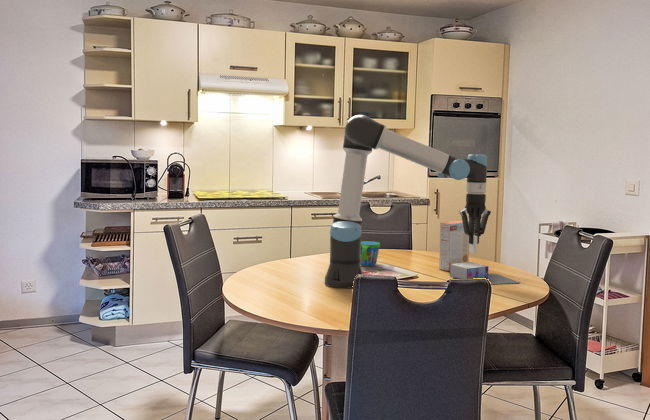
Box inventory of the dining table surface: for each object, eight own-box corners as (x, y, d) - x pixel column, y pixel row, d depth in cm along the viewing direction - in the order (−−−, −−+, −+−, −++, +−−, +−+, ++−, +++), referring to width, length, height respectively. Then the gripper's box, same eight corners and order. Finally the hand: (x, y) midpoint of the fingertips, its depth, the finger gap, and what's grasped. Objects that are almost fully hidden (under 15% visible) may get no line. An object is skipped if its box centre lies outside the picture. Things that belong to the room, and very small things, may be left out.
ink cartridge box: (467, 282, 234) (492, 278, 242) (467, 268, 233) (493, 264, 241) (449, 277, 242) (474, 273, 250) (449, 263, 241) (474, 260, 249)
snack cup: (362, 261, 274) (363, 239, 273) (384, 263, 270) (385, 241, 269) (350, 267, 260) (351, 244, 259) (373, 269, 256) (373, 246, 255)
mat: (474, 285, 229) (474, 284, 229) (452, 275, 246) (452, 274, 246) (519, 283, 234) (520, 282, 234) (495, 273, 251) (495, 273, 251)
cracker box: (457, 266, 267) (459, 219, 265) (468, 268, 263) (471, 221, 261) (437, 269, 258) (439, 222, 256) (449, 271, 254) (451, 223, 252)
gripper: (465, 193, 230) (463, 254, 232) (495, 193, 233) (492, 253, 236) (456, 192, 237) (454, 250, 239) (485, 192, 240) (483, 250, 243)
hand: (473, 251), depth 238 cm, fingers closed
